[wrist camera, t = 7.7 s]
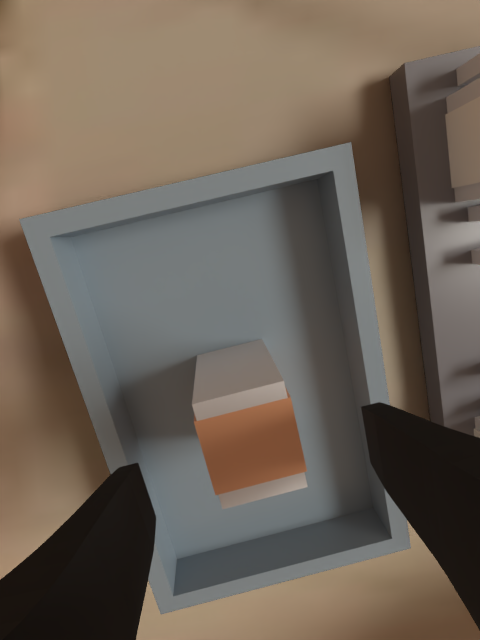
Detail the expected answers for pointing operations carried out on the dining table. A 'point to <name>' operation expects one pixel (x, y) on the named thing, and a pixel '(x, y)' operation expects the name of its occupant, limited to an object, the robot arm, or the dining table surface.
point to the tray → (222, 332)
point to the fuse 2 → (477, 427)
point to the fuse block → (440, 235)
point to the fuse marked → (246, 425)
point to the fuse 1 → (464, 141)
